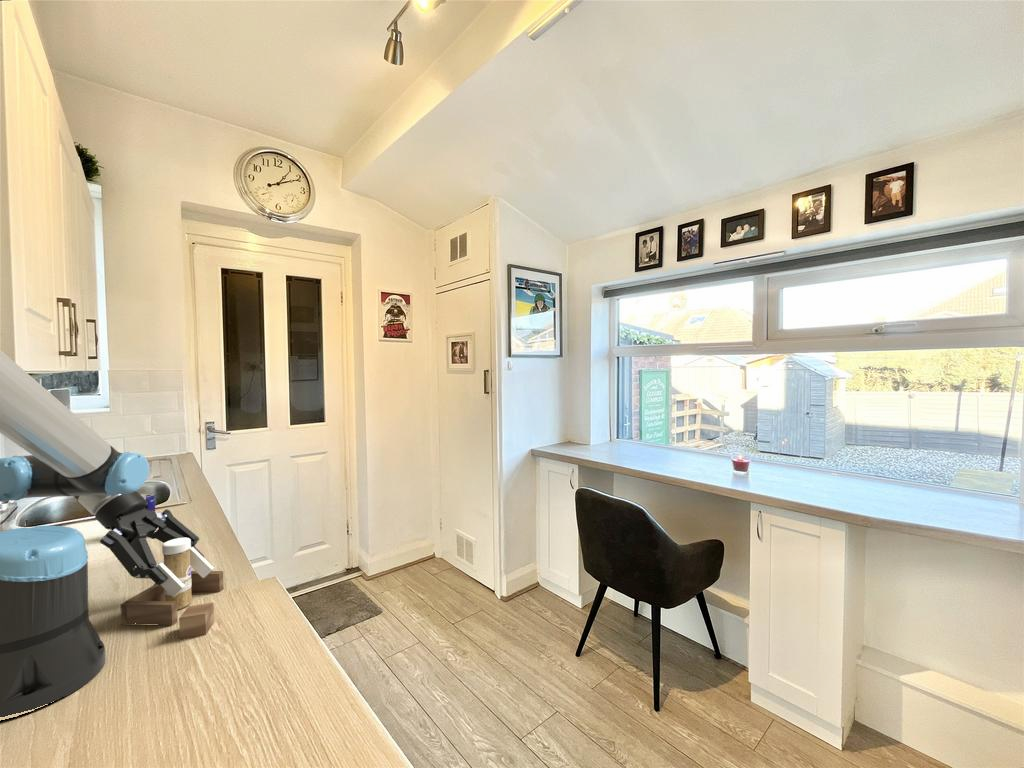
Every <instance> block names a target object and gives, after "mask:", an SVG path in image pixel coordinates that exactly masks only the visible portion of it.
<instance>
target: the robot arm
mask: <svg viewBox="0 0 1024 768" xmlns="http://www.w3.org/2000/svg"><path fill="white" fill-rule="evenodd" d="M0 434H1V435H3V436H4V437H5V438H7V439H9V440H10V441H11V442H13V443H14V444H16V446H19V447H20V448H21V449H23V450H25V451H26V452H27V453H29V455H13V456H9V457H1V458H0V502H9V501H10V502H13V501H20V500H22V499H29V498H31V499H32V498H51V497H52V498H53V497H74V498H75V499H76V501H77V502H79V503H80V504H81V505H82V506H83V508H85V509H86V510H87V511H88V512H89V513H90V515H92V516H95V518H94V519H96V520H97V522H99V524H100V525H101V526H103V527H104V528H105V530H108V532H106V533H105V535H103V537H102V538H101V539H100V540H99V543H100V544H101V545H103V546H105V547H107V548H108V549H109V550H110V552H112V554H113V555H114V557H116V558H117V560H118V562H119V563H120V564H121V565H122V567H123V568H125V570H126V571H127V572H128V574H129V575H130V576H131V577H133V578H137V576H138V575H139V576H140V577H139V578H147V577H146V576H147V575H148V576H149V577H148V578H150V579H151V580H152V581H153V582H154V584H155V583H156V584H157V585H161V586H162V587H163V588H164V589H165V590H166V591H167V592H168V593H169V594H170V595H171V596H172V597H175V596H176V595H177V594H178V593H179V592H180V591H181V590H182V589H183V588H184V587H185V585H184V584H183V583H182V582H181V581H180V580H179V579H178V578H177V577H176V576H175V575H174V574H173V573H172V572H171V571H170V570H169V569H168V568H167V567H166V566H165V565H164V564H163V563H161V562H159V563H160V564H159V563H157V560H156V559H155V556H154V554H153V552H152V550H151V547H150V546H149V543H148V540H147V538H146V537H148V538H150V539H151V540H155V539H156V540H158V541H160V542H162V544H164V543H165V542H167V541H169V540H173V539H177V538H190V540H191V548H190V565H191V567H192V568H191V569H193V571H196V572H197V573H198V574H199V575H200V576H201V577H202V578H205V577H206V576H207V575H208V574H209V573H210V572H211V571H214V569H215V567H214V566H213V565H212V564H211V563H210V562H209V561H208V560H207V559H206V558H205V556H204V554H203V552H201V551H200V550H199V549H198V548H197V547H196V545H197V543H198V542H199V541H200V537H199V536H198V535H196V533H194V532H193V531H192V530H190V529H189V528H188V527H187V526H186V525H185V524H183V523H182V522H181V521H179V519H177V518H176V517H174V515H173V513H172V512H171V510H170V509H168V508H167V509H166V508H165V509H164V510H163V511H162V512H158V513H157V512H156V511H155V512H153V511H151V510H149V509H148V502H147V501H146V500H145V499H144V498H143V497H142V496H141V495H140V494H141V493H139V492H138V491H139V490H140V489H141V488H142V487H143V486H144V485H145V483H146V481H147V479H148V477H149V476H150V475H149V474H150V465H149V462H148V459H147V458H146V457H145V456H144V455H143V454H141V453H137V452H129V451H123V452H120V451H118V450H117V449H115V447H114V446H112V445H111V444H110V443H108V441H106V440H105V439H104V438H103V437H102V436H100V434H98V433H97V432H96V431H95V430H94V429H93V428H91V427H90V426H89V425H88V424H87V423H85V422H84V421H83V420H82V419H81V418H80V417H78V415H76V413H74V412H73V411H71V410H70V409H69V408H68V407H67V406H66V405H65V404H64V403H62V402H61V401H60V400H59V399H57V397H55V396H54V395H53V394H52V393H51V392H50V391H48V390H47V389H46V388H45V387H44V386H43V385H42V384H41V383H40V382H38V381H37V380H36V379H34V377H32V376H31V375H30V374H29V373H27V371H26V370H24V369H23V368H22V367H21V366H20V365H18V363H17V362H15V361H14V360H13V359H12V358H10V357H9V356H8V355H7V354H6V353H5V352H3V351H2V350H1V349H0ZM155 531H156V532H155ZM88 554H89V553H88V550H87V546H86V539H85V536H84V534H83V533H82V532H81V531H79V530H78V529H76V528H73V527H70V526H63V525H36V526H33V527H18V528H13V529H12V528H11V529H8V530H4V531H3V530H2V531H0V717H5V716H8V715H12V714H16V713H21V712H24V711H28V710H32V709H35V708H37V707H40V706H43V705H45V704H49V703H51V702H53V701H56V700H58V699H60V698H62V697H64V698H65V696H66V697H67V696H69V695H70V694H72V693H74V692H76V691H77V690H79V689H80V688H82V687H84V686H85V685H86V684H88V683H89V682H90V681H92V680H93V679H94V678H95V677H96V676H97V675H98V674H99V673H100V672H101V671H102V670H103V668H104V666H105V665H106V662H105V661H106V659H107V655H106V647H105V643H104V642H103V641H102V640H101V638H100V635H99V634H98V631H96V628H95V627H94V625H93V623H92V621H91V619H90V616H89V615H90V614H89V571H88V570H89V569H88V568H89V567H88V564H89V562H88V559H89V555H88ZM157 564H159V565H158V566H156V565H157ZM104 664H105V665H104ZM101 669H102V670H101ZM62 699H63V698H62ZM60 700H61V699H60ZM58 701H59V700H58ZM56 702H57V701H56Z"/></svg>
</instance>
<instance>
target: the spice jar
mask: <svg viewBox="0 0 1024 768" xmlns="http://www.w3.org/2000/svg"><path fill="white" fill-rule="evenodd" d="M161 547H162V548H161V550H162V552H161V553H162V555H163V561H164V565H165V566H166V567H167V568H168V569H169V570H170V571H171V572H172V573H173V574H174V575H175V576H176V577H177V578H178V579H179V580H180V581H181V582H182V583H183V584H184V585H185V587H184V588H183V589H182V590H181V591H180V592H179V593H178V594H177V595H176V596H175V597H172V596H171V595H170V594H169V593H168V592H167V591H166V590H165V589H164V592H165V601H177V611H179V609H180V610H182V609H185V608H186V607H187V608H188V606H190V605H191V604H192V603H193V598H192V592H191V586H192V582H191V571H192V568H191V565H190V548H191V540H190V538H177V539H173V540H169V541H167V542H165V543H162V546H161Z"/></svg>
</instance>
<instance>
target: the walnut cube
mask: <svg viewBox="0 0 1024 768" xmlns="http://www.w3.org/2000/svg"><path fill="white" fill-rule="evenodd" d="M214 604H215V603H214V602H206V603H200V604H193V605H188V606H187V608H186V609H185V610H184V611H183V613H182V614H181V615H180V616H179V617H178V624H179V625H178V626H179V639H180V640H184V639H190V638H195V637H201V636H202V637H203V636H207V634H208V632H209V631H210V629H212V627H213V625H214V624H215V607H214Z"/></svg>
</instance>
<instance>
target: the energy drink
mask: <svg viewBox="0 0 1024 768" xmlns="http://www.w3.org/2000/svg"><path fill="white" fill-rule="evenodd" d="M139 494H140V495H141V496H142V497H143V498H144V499H145V500H146V501H147V502H148V509H149V510H151V511H153V512H155V513H156V496H155V493H150V492H148V493H139Z"/></svg>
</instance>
